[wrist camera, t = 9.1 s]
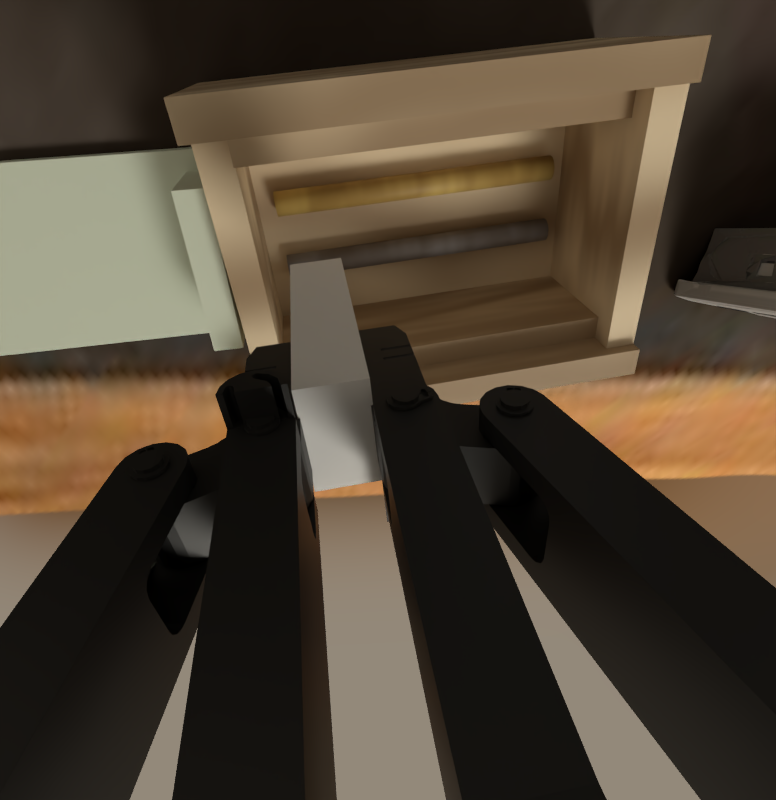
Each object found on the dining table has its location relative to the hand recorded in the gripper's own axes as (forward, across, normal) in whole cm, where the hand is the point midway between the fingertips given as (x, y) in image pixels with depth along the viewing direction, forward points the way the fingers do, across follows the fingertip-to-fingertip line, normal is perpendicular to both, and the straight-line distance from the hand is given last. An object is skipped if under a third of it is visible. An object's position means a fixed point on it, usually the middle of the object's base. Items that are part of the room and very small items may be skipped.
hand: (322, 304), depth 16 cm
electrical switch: (+10, +24, -5) cm, 26 cm away
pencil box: (+9, +5, 0) cm, 10 cm away
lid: (+10, -11, 0) cm, 14 cm away
